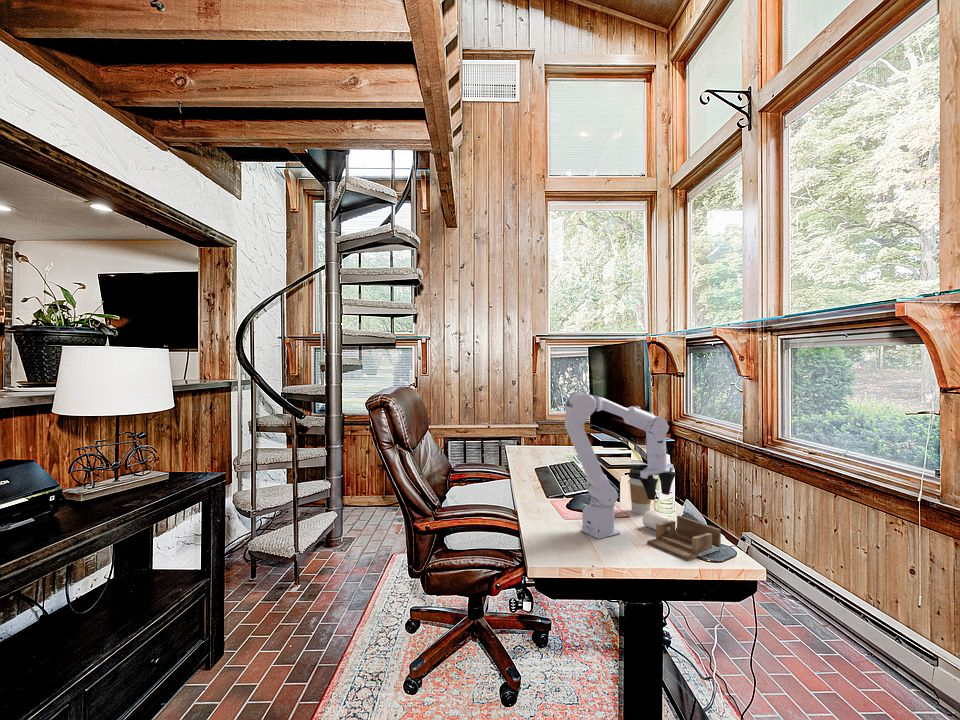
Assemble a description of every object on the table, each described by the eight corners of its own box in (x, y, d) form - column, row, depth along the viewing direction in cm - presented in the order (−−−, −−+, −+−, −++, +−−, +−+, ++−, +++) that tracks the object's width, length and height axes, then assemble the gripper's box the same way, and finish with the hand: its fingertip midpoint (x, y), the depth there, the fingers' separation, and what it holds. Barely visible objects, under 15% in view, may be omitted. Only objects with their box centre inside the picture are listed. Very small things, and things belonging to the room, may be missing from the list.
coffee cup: (649, 508, 171) (650, 467, 171) (656, 516, 162) (656, 472, 162) (626, 507, 172) (626, 466, 172) (631, 515, 163) (631, 472, 163)
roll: (662, 532, 144) (666, 516, 145) (640, 524, 152) (644, 508, 152) (672, 536, 146) (676, 520, 147) (650, 527, 154) (654, 512, 155)
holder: (687, 560, 126) (688, 538, 126) (647, 543, 138) (647, 522, 138) (720, 550, 133) (720, 529, 133) (679, 535, 145) (679, 515, 145)
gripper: (653, 459, 142) (655, 504, 142) (681, 452, 150) (683, 494, 150) (633, 456, 148) (635, 499, 148) (661, 449, 156) (663, 490, 156)
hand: (658, 496), depth 150 cm, fingers open, 7 cm apart
